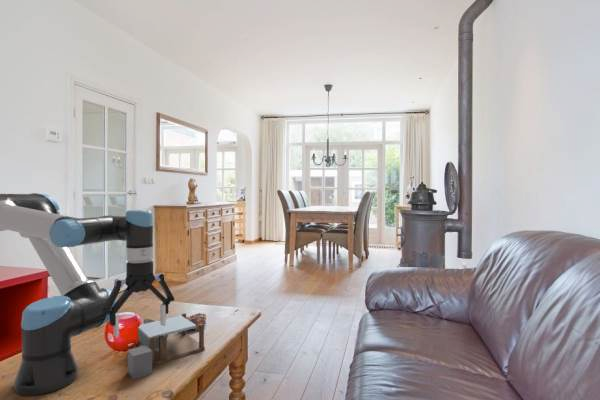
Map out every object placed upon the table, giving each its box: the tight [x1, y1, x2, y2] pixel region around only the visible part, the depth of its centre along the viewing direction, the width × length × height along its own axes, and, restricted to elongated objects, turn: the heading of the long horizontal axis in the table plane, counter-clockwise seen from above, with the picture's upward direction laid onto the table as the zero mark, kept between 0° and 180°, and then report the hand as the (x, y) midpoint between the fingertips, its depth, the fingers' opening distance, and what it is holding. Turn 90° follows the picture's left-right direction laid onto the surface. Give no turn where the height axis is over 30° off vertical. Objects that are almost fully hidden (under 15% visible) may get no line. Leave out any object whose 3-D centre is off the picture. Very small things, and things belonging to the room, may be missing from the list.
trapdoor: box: [138, 315, 196, 349], centre depth 125 cm, size 16×13×4 cm
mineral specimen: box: [186, 312, 207, 331], centre depth 146 cm, size 12×8×7 cm
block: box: [127, 345, 153, 380], centre depth 110 cm, size 6×6×7 cm
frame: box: [133, 312, 206, 367], centre depth 126 cm, size 19×18×9 cm
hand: (140, 330), depth 110 cm, fingers open, 13 cm apart
